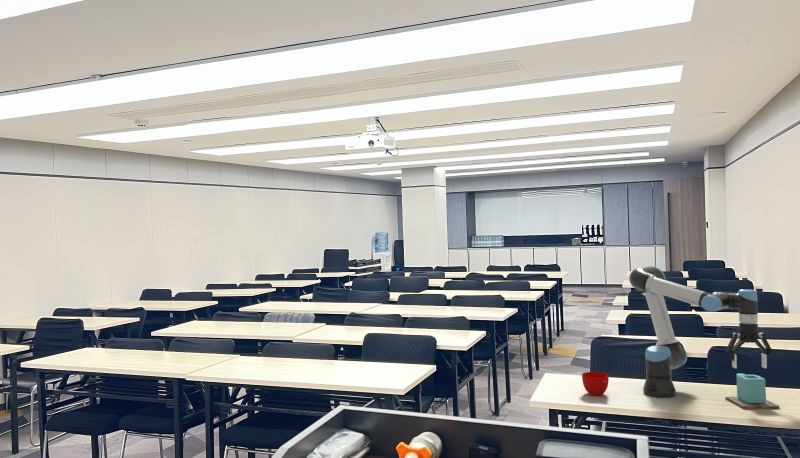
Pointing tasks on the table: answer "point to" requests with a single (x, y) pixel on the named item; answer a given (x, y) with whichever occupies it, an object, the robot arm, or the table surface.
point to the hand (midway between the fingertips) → (749, 367)
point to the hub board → (752, 404)
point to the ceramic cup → (595, 382)
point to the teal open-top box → (751, 388)
